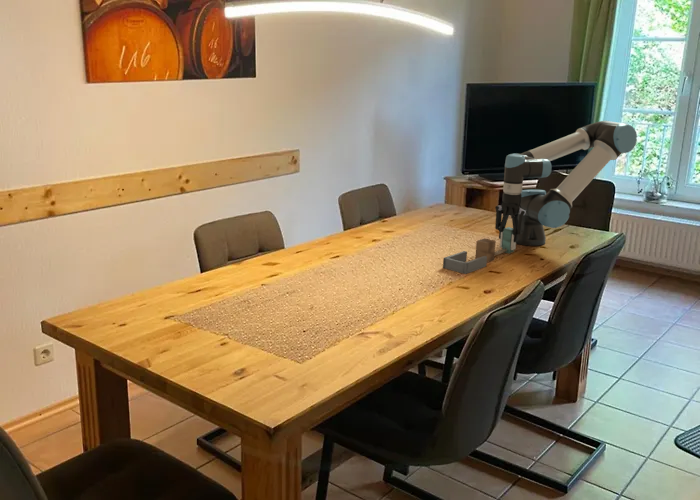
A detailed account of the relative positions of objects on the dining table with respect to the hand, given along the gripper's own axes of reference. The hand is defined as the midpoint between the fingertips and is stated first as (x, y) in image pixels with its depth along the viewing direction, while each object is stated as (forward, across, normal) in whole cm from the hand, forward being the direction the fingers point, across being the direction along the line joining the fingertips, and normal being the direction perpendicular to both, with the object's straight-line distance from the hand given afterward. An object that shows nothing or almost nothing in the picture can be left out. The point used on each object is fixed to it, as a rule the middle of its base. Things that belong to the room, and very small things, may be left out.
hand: (507, 247), depth 287 cm
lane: (+2, 0, -31) cm, 31 cm away
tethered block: (+2, 0, -9) cm, 9 cm away
